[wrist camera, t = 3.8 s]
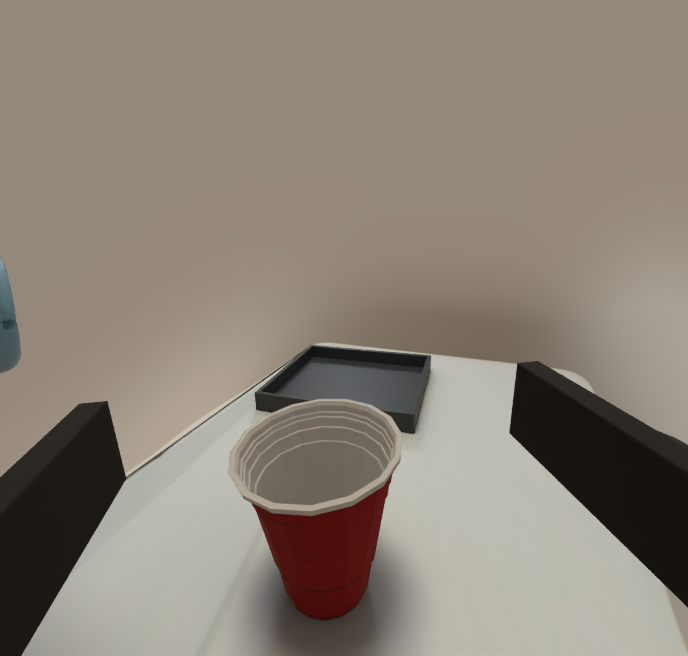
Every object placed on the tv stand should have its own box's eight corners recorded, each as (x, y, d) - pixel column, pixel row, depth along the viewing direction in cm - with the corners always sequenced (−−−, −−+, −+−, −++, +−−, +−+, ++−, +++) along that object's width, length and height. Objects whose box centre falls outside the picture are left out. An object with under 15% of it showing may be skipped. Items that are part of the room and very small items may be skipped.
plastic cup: (236, 549, 30) (216, 416, 26) (359, 505, 34) (356, 384, 30) (266, 707, 20) (241, 531, 17) (432, 619, 24) (441, 463, 21)
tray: (256, 409, 51) (254, 392, 50) (311, 357, 68) (310, 344, 67) (414, 433, 44) (414, 414, 44) (430, 369, 62) (431, 355, 61)
